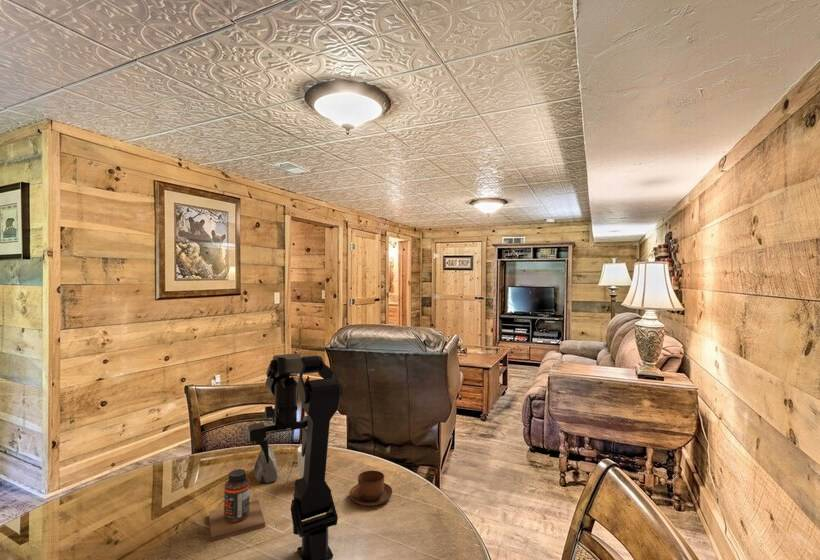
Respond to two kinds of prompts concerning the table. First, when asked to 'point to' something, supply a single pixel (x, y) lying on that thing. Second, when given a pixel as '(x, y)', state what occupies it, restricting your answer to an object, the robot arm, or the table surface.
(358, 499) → the cup and saucer
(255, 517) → the walnut base
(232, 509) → the supplement bottle
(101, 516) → the table surface
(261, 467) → the mineral rock
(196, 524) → the table surface
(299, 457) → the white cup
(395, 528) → the table surface
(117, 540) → the table surface
